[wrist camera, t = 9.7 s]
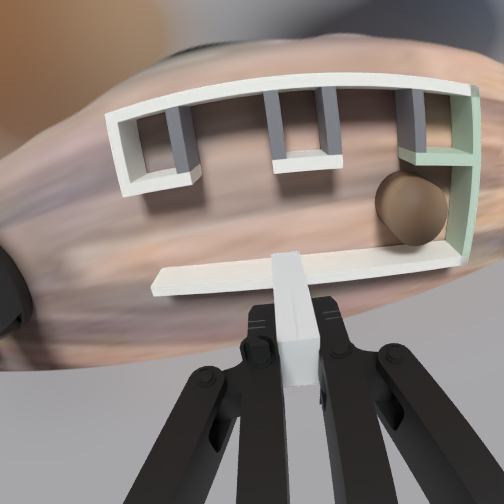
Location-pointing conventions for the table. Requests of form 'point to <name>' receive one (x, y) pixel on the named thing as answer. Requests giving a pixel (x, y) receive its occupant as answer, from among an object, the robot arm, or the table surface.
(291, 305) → the robot arm
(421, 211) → the brown rounded cylinder
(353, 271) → the box
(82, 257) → the table surface
